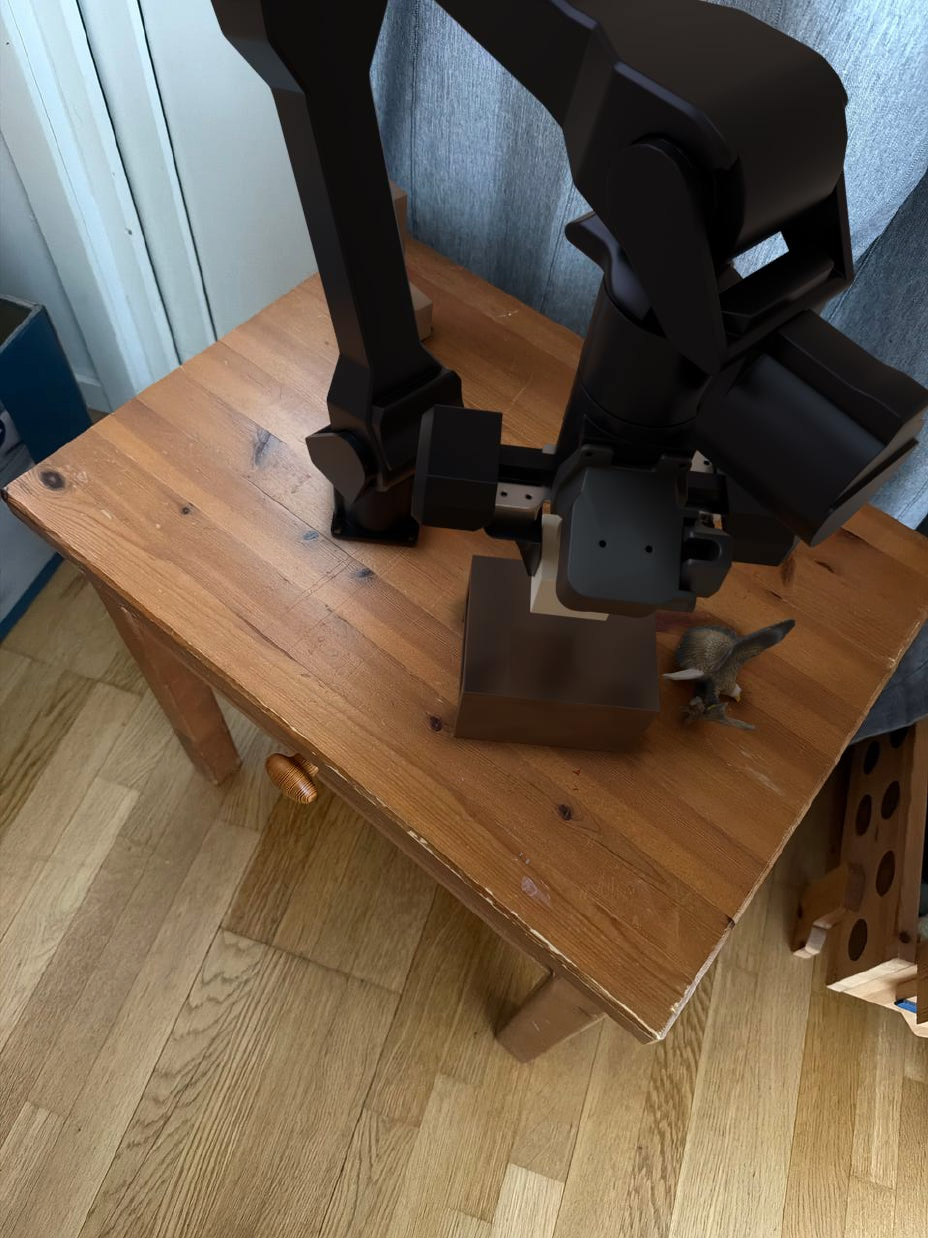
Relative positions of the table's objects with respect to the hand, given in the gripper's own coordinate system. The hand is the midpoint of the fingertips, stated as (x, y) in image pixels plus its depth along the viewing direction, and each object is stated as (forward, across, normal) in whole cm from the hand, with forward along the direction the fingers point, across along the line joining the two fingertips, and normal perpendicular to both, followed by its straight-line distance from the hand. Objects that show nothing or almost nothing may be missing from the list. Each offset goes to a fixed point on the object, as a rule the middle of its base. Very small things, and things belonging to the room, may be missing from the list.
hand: (571, 574), depth 51 cm
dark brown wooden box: (+13, +1, 0) cm, 13 cm away
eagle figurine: (+13, +13, +1) cm, 18 cm away
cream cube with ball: (+1, 0, 0) cm, 1 cm away
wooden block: (+13, -14, +30) cm, 36 cm away
